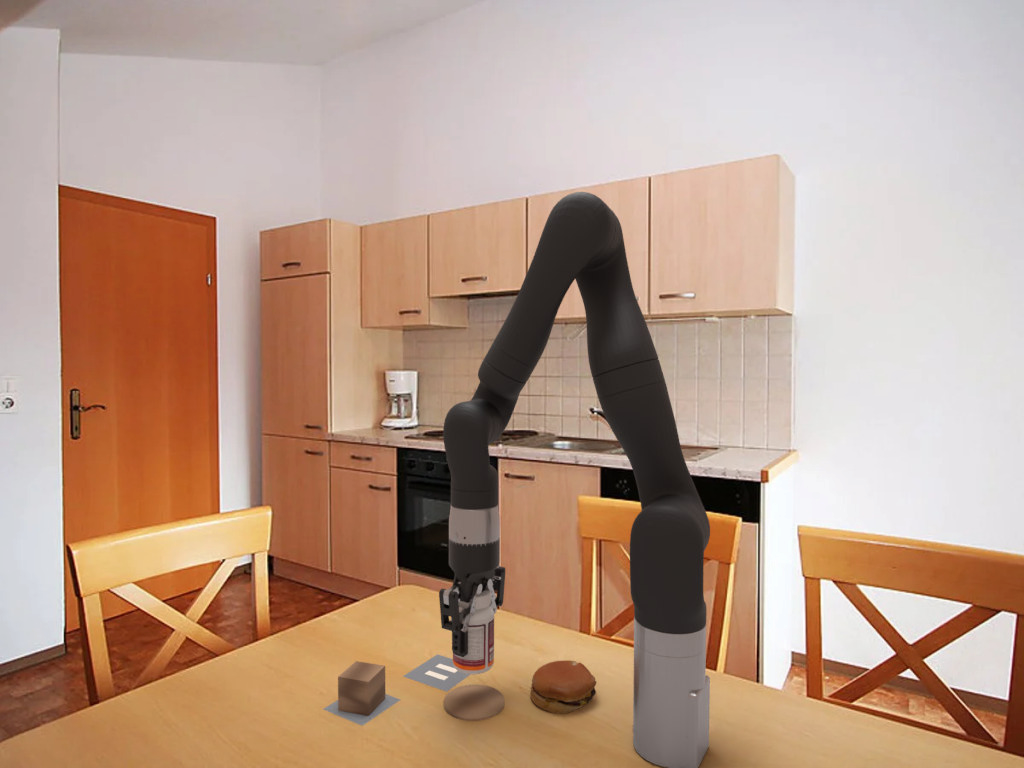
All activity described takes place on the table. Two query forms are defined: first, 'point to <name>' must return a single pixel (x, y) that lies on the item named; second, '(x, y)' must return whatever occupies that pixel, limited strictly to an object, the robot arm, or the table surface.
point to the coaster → (473, 702)
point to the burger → (562, 686)
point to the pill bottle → (478, 638)
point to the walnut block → (361, 688)
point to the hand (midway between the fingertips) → (473, 645)
